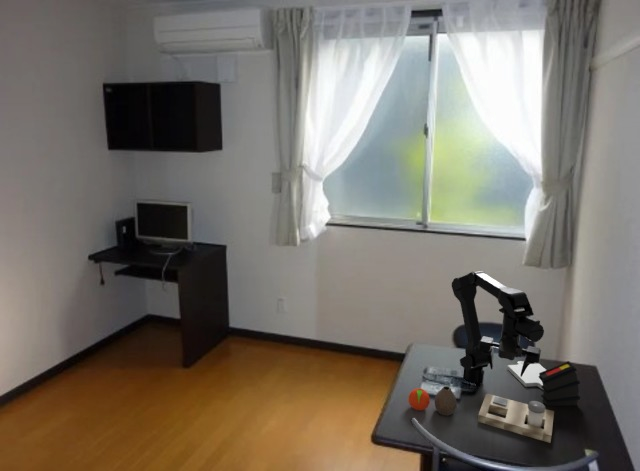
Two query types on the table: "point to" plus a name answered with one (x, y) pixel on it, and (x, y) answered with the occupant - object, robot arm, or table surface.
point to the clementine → (419, 399)
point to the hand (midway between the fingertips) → (506, 372)
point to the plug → (535, 413)
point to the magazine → (560, 385)
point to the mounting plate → (527, 374)
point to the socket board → (514, 417)
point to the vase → (445, 401)
